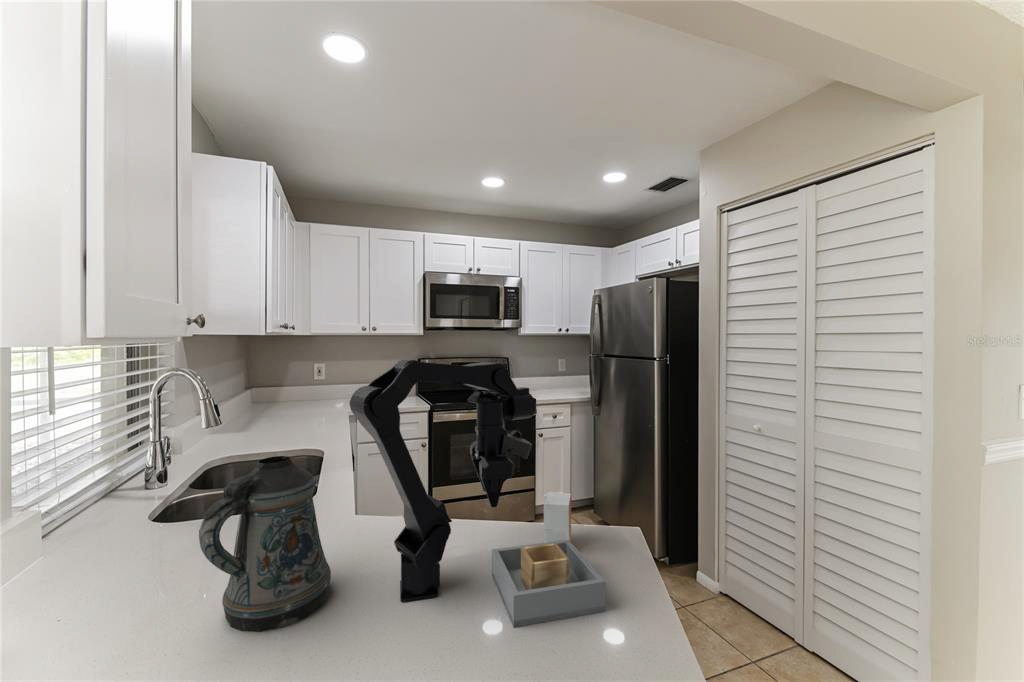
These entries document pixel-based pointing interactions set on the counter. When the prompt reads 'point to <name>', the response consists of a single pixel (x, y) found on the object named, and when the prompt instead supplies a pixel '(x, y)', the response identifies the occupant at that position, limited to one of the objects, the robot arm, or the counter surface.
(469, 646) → the counter surface
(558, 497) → the small box
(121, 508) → the counter surface
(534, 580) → the oak crate
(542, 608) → the slate gray crate
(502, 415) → the robot arm
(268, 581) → the beer stein
